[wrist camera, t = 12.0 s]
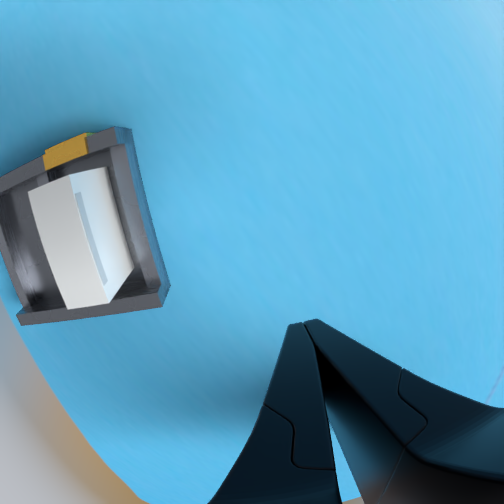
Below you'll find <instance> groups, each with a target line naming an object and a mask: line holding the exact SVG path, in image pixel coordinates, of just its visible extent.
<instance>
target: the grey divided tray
mask: <svg viewBox="0 0 504 504" xmlns="http://www.w3.org/2000/svg"><path fill="white" fill-rule="evenodd" d="M102 167H107V169H108V173H109V178H110V182H111V186H112V190H113V195H114V199H115V202H116V206H117V210H118V214H119V218H120V221H121V225H122V228H123V232H124V235H125V239H126V242H127V245H128V248H129V252H130V255H131V258H132V261H133V264H134V269H133V270H132V271H131V273H130V274H129V276H128V277H127V278H126V280H125V281H124V283H123V284H122V285H121V287H120V288H119V290H118V291H117V293H116V294H115V295H114V297H113V298H112V300H111V301H110V303H107V304H101V305H94V306H88V307H81V308H75V309H67V307H66V305H65V302H64V300H63V298H62V295H61V293H60V290H59V288H58V286H57V283H56V281H55V278H54V275H53V273H52V270H51V267H50V265H49V262H48V259H47V256H46V253H45V251H44V248H43V245H42V241H41V238H40V235H39V232H38V229H37V225H36V222H35V218H34V215H33V211H32V207H31V203H30V199H29V195H28V191H31V190H33V189H35V188H38V187H40V186H42V185H45V184H47V183H50V182H52V181H54V180H57V179H59V178H62V177H65V176H67V175H70V174H74V173H79V172H83V171H88V170H92V169H97V168H102ZM0 251H1V254H2V256H3V259H4V262H5V265H6V268H7V270H8V273H9V275H10V278H11V281H12V283H13V285H14V288H15V290H16V293H17V295H18V297H19V300H20V302H21V304H22V306H23V308H22V309H21V310H20V311H19V312H18V313H17V314H16V316H17V318H18V320H19V322H20V324H21V326H23V325H33V324H42V323H50V322H59V321H67V320H75V319H83V318H90V317H98V316H105V315H112V314H119V313H126V312H132V311H139V310H146V309H152V308H158V307H163V304H164V301H165V299H166V296H167V294H168V291H169V288H170V286H171V285H170V282H169V279H168V275H167V272H166V269H165V266H164V262H163V259H162V255H161V252H160V248H159V245H158V241H157V238H156V234H155V230H154V227H153V223H152V219H151V215H150V211H149V208H148V204H147V200H146V195H145V191H144V187H143V183H142V178H141V174H140V170H139V165H138V160H137V156H136V151H135V146H134V141H133V136H132V130H131V129H127V128H121V127H112V128H109V129H106V130H103V131H100V132H98V133H89V132H86V133H83V134H81V135H78V136H76V137H73V138H71V139H69V140H66V141H64V142H62V143H59V144H57V145H55V146H53V147H51V148H48V149H46V150H45V154H44V155H43V156H41V157H38V158H36V159H34V160H32V161H30V162H28V163H26V164H24V165H22V166H20V167H18V168H17V169H15V170H13V171H11V172H9V173H7V174H5V175H4V176H2V177H0Z"/></svg>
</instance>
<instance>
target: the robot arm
mask: <svg viewBox="0 0 504 504" xmlns="http://www.w3.org/2000/svg"><path fill="white" fill-rule="evenodd" d="M328 418H329V421H330V423H331V425H332V428H333V430H334V432H335V435H336V437H337V440H338V442H339V444H340V447H341V449H342V451H343V454H344V456H345V458H346V461H347V463H348V466H349V468H350V470H351V473H352V475H353V477H354V480H355V482H356V484H357V487H358V489H359V492H360V494H361V496H362V499H363V501H364V503H365V504H504V408H498V407H492V406H489V405H486V404H483V403H480V402H478V401H475V400H472V399H470V398H467V397H465V396H462V395H459V394H457V393H454V392H452V391H449V390H447V389H445V388H442V387H440V386H438V385H435V384H433V383H431V382H429V381H427V380H425V379H423V378H421V377H419V376H417V375H415V374H413V373H412V372H410V371H408V370H406V369H404V368H403V369H402V367H401V366H399V365H397V364H395V363H394V362H392V361H390V360H388V359H386V358H385V357H383V356H381V355H379V354H378V353H376V352H374V351H372V350H371V349H369V348H367V347H365V346H364V345H362V344H360V343H359V342H357V341H355V340H353V339H352V338H350V337H348V336H346V335H345V334H343V333H341V332H340V331H338V330H336V329H334V328H333V327H331V326H329V325H328V324H326V323H324V322H323V321H321V320H319V319H313V320H308V321H305V322H304V323H302V322H299V323H294V324H290V325H289V326H288V328H287V331H286V334H285V338H284V341H283V344H282V347H281V350H280V354H279V357H278V360H277V363H276V366H275V369H274V372H273V375H272V378H271V381H270V384H269V387H268V390H267V393H266V396H265V399H264V402H263V406H262V407H261V410H260V413H259V415H258V418H257V421H256V423H255V425H254V428H253V430H252V433H251V435H250V437H249V439H248V441H247V442H246V444H245V446H244V448H243V450H242V452H241V453H240V455H239V457H238V458H237V460H236V462H235V464H234V465H233V467H232V468H231V470H230V472H229V473H228V475H227V477H226V478H225V480H224V481H223V483H222V485H221V486H220V488H219V489H218V491H217V492H216V494H215V495H214V497H213V498H212V499H211V500H210V501H209V503H208V504H342V501H341V497H340V492H339V487H338V481H337V475H336V467H335V461H334V454H333V447H332V441H331V434H330V428H329V422H328Z"/></svg>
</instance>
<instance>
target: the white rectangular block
mask: <svg viewBox="0 0 504 504" xmlns="http://www.w3.org/2000/svg"><path fill="white" fill-rule="evenodd" d="M28 195H29V199H30V203H31V207H32V211H33V215H34V218H35V222H36V225H37V229H38V232H39V235H40V238H41V241H42V245H43V248H44V251H45V253H46V256H47V259H48V262H49V265H50V267H51V270H52V273H53V275H54V278H55V281H56V283H57V286H58V288H59V290H60V293H61V295H62V298H63V300H64V302H65V305H66V307H67V309H75V308H81V307H88V306H94V305H101V304H107V303H110V301H111V300H112V298H113V297H114V295H115V294H116V293H117V291H118V290H119V288H120V287H121V285H122V284H123V283H124V281H125V280H126V278H127V277H128V276H129V274H130V273H131V271H132V270H133V269H134V264H133V261H132V258H131V255H130V252H129V248H128V245H127V242H126V239H125V235H124V232H123V228H122V225H121V221H120V218H119V214H118V210H117V206H116V202H115V199H114V195H113V190H112V186H111V182H110V178H109V173H108V169H107V167H102V168H97V169H92V170H88V171H83V172H79V173H74V174H70V175H67V176H65V177H62V178H59V179H57V180H54V181H52V182H50V183H47V184H45V185H42V186H40V187H38V188H35V189H33V190H31V191H28Z"/></svg>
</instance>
